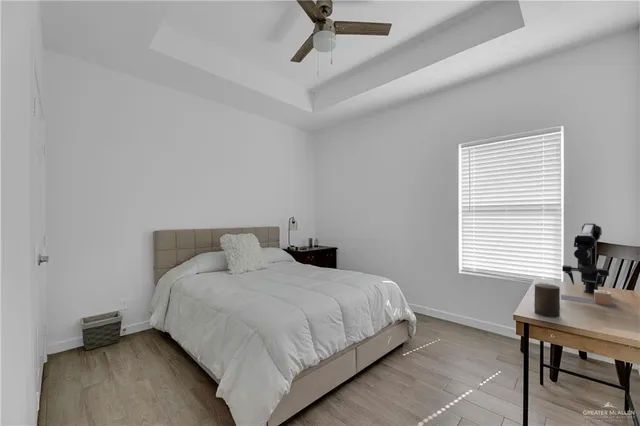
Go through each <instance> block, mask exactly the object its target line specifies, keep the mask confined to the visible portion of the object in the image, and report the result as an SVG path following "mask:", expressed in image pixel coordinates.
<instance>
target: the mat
mask: <svg viewBox="0 0 640 426" xmlns="http://www.w3.org/2000/svg"><path fill="white" fill-rule="evenodd" d="M561 300H562V301H567V302H568V301H569V302H573V303H575V302H576V303H582V304H588V305H597V306H600V307H608V308H615V309H618V306H617V305H616V303H615V302H614V301H611V305H604V304H597V303H595V302H594V298H589V297H588V298H587V297H581V296H573V295H569V294H568V295H567V294H560V301H561Z"/></svg>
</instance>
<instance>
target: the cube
mask: <svg viewBox="0 0 640 426" xmlns="http://www.w3.org/2000/svg"><path fill="white" fill-rule="evenodd" d="M593 299H594V302H595V303H597V304H604V305H611V302H612V293H611V292H610V291H609V290H601V289H598V290H594V294H593Z"/></svg>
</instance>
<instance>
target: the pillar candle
mask: <svg viewBox="0 0 640 426" xmlns="http://www.w3.org/2000/svg"><path fill="white" fill-rule="evenodd" d="M555 285H556V284H555ZM555 285H549V284H537V283H535V284H534V302H533V304H534V313H535V314H537V315H540V316H542V317H548V318H559V317H561V314H560V312H561V308H560V307H561V306H560V305H561V302H560V301H561V293H560V291H561V289H560V286H557V285H556V286H555Z"/></svg>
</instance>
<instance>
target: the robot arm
mask: <svg viewBox="0 0 640 426" xmlns="http://www.w3.org/2000/svg"><path fill="white" fill-rule="evenodd" d="M602 234H603V231H602V227H601V226H599V225H596V223H590V222H588V223H587V222H585V223H584V224H583V225H582V226H581V232H579V233H577V234H576V236H575V237H574V241H573V247H574V248H576V250H574V252H573V256H574V257H575V258H576V259H577V267H573V266H572V265H567V264H566V265H562V269H561V271H562V272H564V273H565V274H567V275H568V277H569V278H570V281H571V284H572V285H575V281H574V276H573V272H578V273H580V277H581V283H584V290H583V293H584V294H585V293H586V294H590V295H591V294H593V295H594V290H599V285H600V286H601V285H603V284H604V281H603V278H606V277H608V276H610V271H609V269H607V268H598V267H597V242H598V241H599V240H600V239H601V236H603V235H602Z"/></svg>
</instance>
